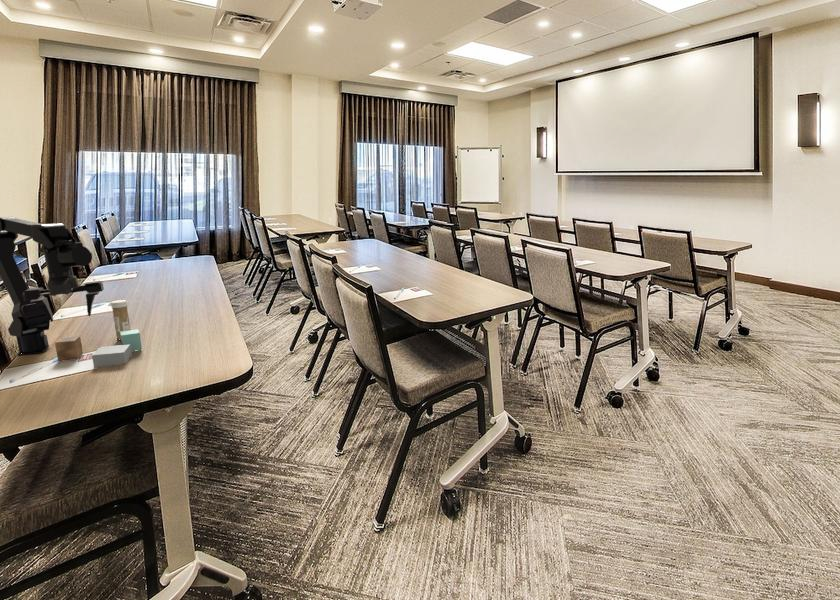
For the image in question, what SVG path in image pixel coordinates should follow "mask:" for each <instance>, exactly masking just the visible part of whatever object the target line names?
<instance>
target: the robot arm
mask: <svg viewBox="0 0 840 600" xmlns="http://www.w3.org/2000/svg"><path fill="white" fill-rule="evenodd" d="M20 235H21V236H24V237H25V236H26V237H28V238H32V241H33V242H35V243H38V245H39V244H40V245H41V247H40V248H39V249H38V253H40V254H42V253H43V255H44V259H45V260H44V261H45V264H46V268H47V275H48V282H47V284H46V287H47V289H44V287H35V288H29V287H28V284H27V283H26V281H25V278H24V276H23V274H22V272H21V270H20V267H19V265H18V263H17V262H16V261H17V260H16V259H15V257H14V254H15V250H16V243H15V241H17V238H18V237H19V236H20ZM92 260H93V255H92V252H91V251H90V249H89V248H87V247H86V246H84V245H83V242H81V241H78V240H77V238H75V235H73V234H72V232H70V230H69V229H68V228H67V226H66V225H65V224H63V223H62V222H61V223H58V222H57V223H39V222H34V221H31V220H26V219H21V218H17V217H14V216H0V278H1V280H2V282H3V285H4V287H5V289H6V291H7V293H8V295H9V298H10V299H11V303H13V307H12V312H11V314H10V315H11V318H12V322H11V324H10V325H9V327H8V328H7V331H8V333H9V335H10V336H12V337H16V341H17V346H18V347H17V348H18V352H17V353H16V355H17V356H21V355H20V354H21V353H22V354H24V355H34V354H42V353H45V351H46V350H48V349H49V348H50V345H49V341H48V335H47V334H46V333H45V331H49V329H50V323H51V322H54V316H53V313H52V309H51V307H50V303H49V300H48V297H47V296H52V297H55V296H58V295H69V294H71V293H79V292H86V294H85V298H86V299H85V300H86V310H87V316H88V317H91V315H92V309H93V305H94V300H95V297H96V296H98V295H99V294H100V292H103V291H104V283H103V281H101V280H95V281H89V282H85V283H84V284H82V285H79V280H78V278H77V276H76V275H74V272H73V267H86V266H88V265H90V264H91V262H92ZM48 347H49V348H48Z"/></svg>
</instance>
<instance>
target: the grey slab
mask: <svg viewBox="0 0 840 600" xmlns="http://www.w3.org/2000/svg"><path fill="white" fill-rule="evenodd" d="M131 355H132V356H133V352H132V351H131V344H127V345H122V344H119V345H118V344H117V345H108V346H100V347H99V348H97V350H96V351H95V352H94V353H93V354H91V357H92V364H93V368H102V367H103V368H104V367H113V365H114V366H120V365H121V366H122V364H124V365H126V364H127V363H128V362H129V361H130V359H131V358H132V356H131ZM130 357H131V358H130ZM129 358H130V359H129ZM128 360H129V361H128ZM127 361H128V362H127Z"/></svg>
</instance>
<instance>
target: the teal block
mask: <svg viewBox="0 0 840 600" xmlns="http://www.w3.org/2000/svg"><path fill="white" fill-rule="evenodd" d="M120 335H121V341H120V343H121V345H127V344H131V351H135V350H141V349H142V350H143V347H142V341H141V333H140V331H139V328H135V329H130V330H128V331H121V332H120Z"/></svg>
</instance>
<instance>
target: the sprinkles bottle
mask: <svg viewBox="0 0 840 600" xmlns="http://www.w3.org/2000/svg"><path fill="white" fill-rule="evenodd" d="M110 304H111V305H110V306H111V309H112V314H113V317H112V318H113V323H114V330H115V333H116V340H117V339H120V340H121V335H120V332H121V331H128V330H131V326H130V325H131V324H130V317H129V313H128V312H129V311H128V302H127V300H126V299H117V300H112V301H111V302H110Z"/></svg>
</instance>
